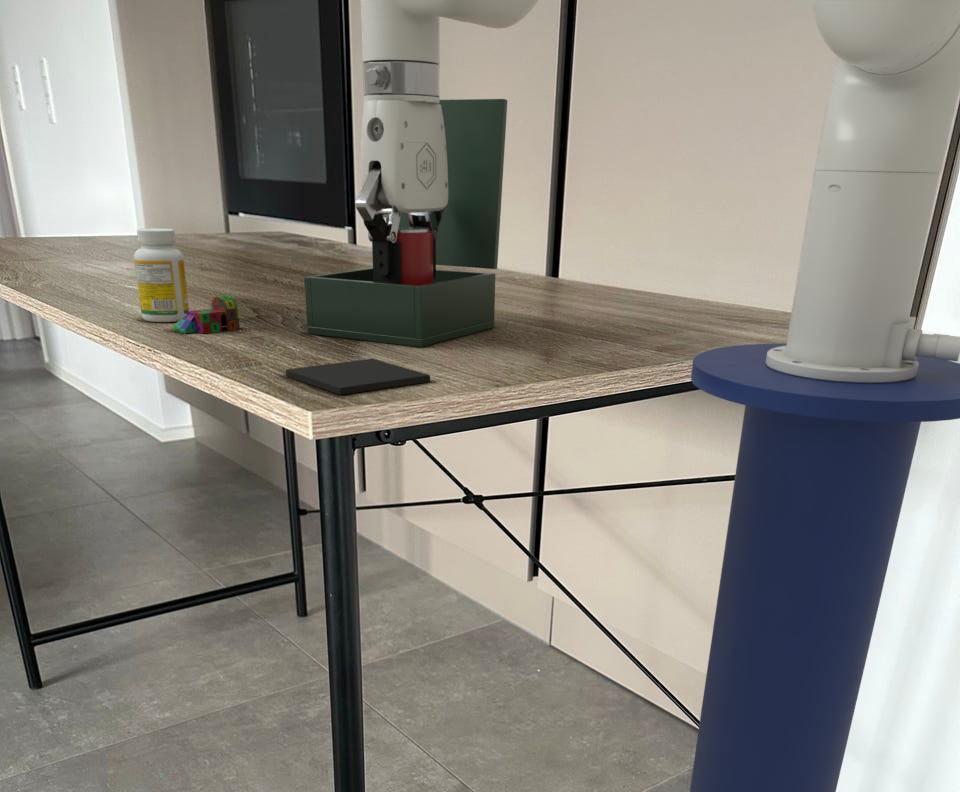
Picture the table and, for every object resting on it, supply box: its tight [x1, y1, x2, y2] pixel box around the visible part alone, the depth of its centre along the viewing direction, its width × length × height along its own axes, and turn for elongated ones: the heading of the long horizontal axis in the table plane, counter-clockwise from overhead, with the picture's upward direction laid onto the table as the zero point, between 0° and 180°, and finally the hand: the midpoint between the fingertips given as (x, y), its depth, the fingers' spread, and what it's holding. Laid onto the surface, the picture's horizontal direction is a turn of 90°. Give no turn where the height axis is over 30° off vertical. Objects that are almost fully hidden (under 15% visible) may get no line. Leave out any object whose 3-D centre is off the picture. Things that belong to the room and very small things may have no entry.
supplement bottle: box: [133, 227, 190, 323], centre depth 107 cm, size 5×5×10 cm
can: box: [396, 226, 433, 286], centre depth 101 cm, size 6×6×10 cm
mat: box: [285, 358, 431, 396], centre depth 81 cm, size 9×9×1 cm
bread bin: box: [303, 266, 496, 348], centre depth 103 cm, size 16×15×6 cm
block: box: [170, 295, 241, 335], centre depth 102 cm, size 6×4×3 cm
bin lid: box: [385, 98, 508, 270], centre depth 106 cm, size 17×15×5 cm
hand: (405, 278), depth 101 cm, fingers closed on can, 6 cm apart
